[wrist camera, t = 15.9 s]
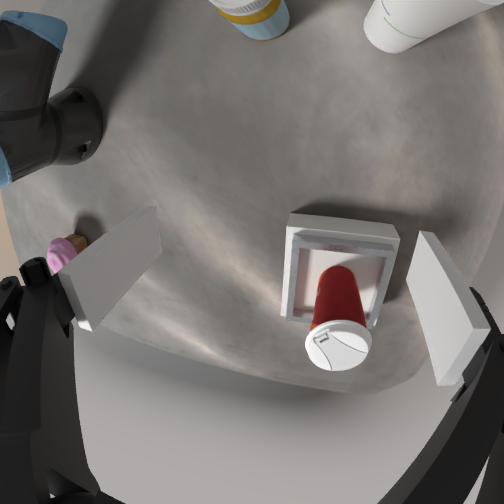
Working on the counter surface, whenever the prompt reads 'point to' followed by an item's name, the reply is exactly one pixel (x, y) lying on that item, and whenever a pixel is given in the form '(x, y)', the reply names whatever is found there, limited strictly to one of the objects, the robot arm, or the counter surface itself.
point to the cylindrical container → (416, 20)
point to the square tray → (336, 261)
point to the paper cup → (338, 322)
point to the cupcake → (64, 250)
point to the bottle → (256, 17)
